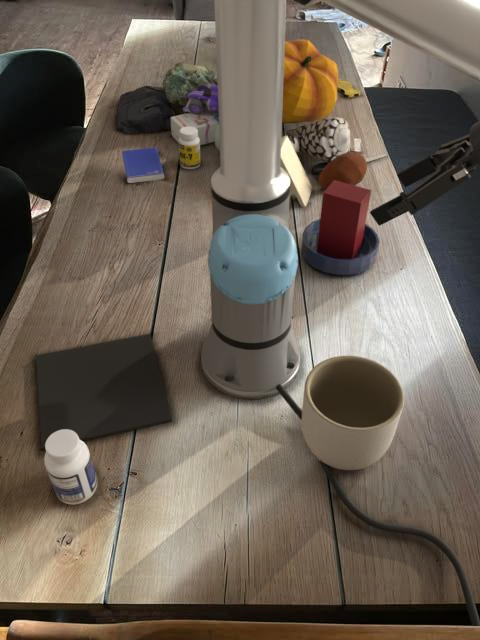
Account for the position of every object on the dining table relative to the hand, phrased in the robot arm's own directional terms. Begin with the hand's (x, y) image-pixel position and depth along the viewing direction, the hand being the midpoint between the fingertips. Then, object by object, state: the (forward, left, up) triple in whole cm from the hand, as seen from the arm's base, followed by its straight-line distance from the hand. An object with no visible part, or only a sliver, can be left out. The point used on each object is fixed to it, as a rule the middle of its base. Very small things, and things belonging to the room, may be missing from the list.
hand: (388, 198), depth 103 cm
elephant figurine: (+41, +4, -15) cm, 44 cm away
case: (+5, +5, -14) cm, 16 cm away
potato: (+31, -3, -10) cm, 33 cm away
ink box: (+61, +13, -12) cm, 63 cm away
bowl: (+5, +5, -15) cm, 16 cm away
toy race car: (+62, +14, -8) cm, 64 cm away
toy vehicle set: (+44, -10, -13) cm, 47 cm away
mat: (-16, +52, -15) cm, 56 cm away
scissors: (+38, -21, -14) cm, 46 cm away
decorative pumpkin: (+56, -1, -7) cm, 57 cm away
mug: (+50, +16, -8) cm, 53 cm away
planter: (-35, +21, -15) cm, 43 cm away
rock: (+77, +15, -3) cm, 79 cm away
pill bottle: (-32, +57, -15) cm, 67 cm away
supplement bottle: (+46, +25, -15) cm, 55 cm away
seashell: (+44, -4, -6) cm, 45 cm away
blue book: (+42, +36, -14) cm, 56 cm away
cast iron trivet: (+76, +30, -15) cm, 82 cm away
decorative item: (+76, -24, -14) cm, 81 cm away
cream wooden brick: (+30, +12, -4) cm, 33 cm away
